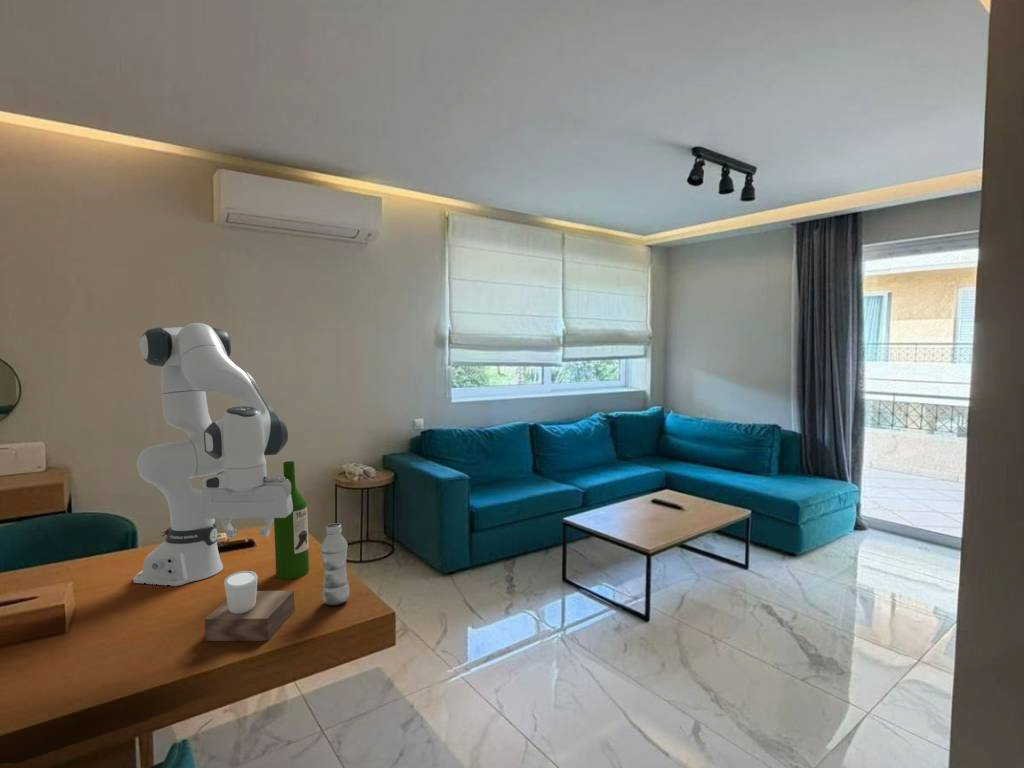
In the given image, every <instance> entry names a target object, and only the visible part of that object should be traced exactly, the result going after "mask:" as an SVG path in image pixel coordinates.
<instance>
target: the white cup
mask: <svg viewBox="0 0 1024 768" xmlns="http://www.w3.org/2000/svg"><path fill="white" fill-rule="evenodd" d="M258 576H259V575H258V573H256V572H255V571H250V570H242V571H238V572H234V573H231V574H230V575H228V576H227V577H226V578H225V579H224V580H223V583H224V590H225V591H224V592H225V596H226V600H227V604H228V609H229V611H230V612H231V613H236V614H237V613H244V612H247V611H249V610H251V609H252V608H253V607H254V606H255V604H256V592H257V591H258V578H259V577H258Z"/></svg>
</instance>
